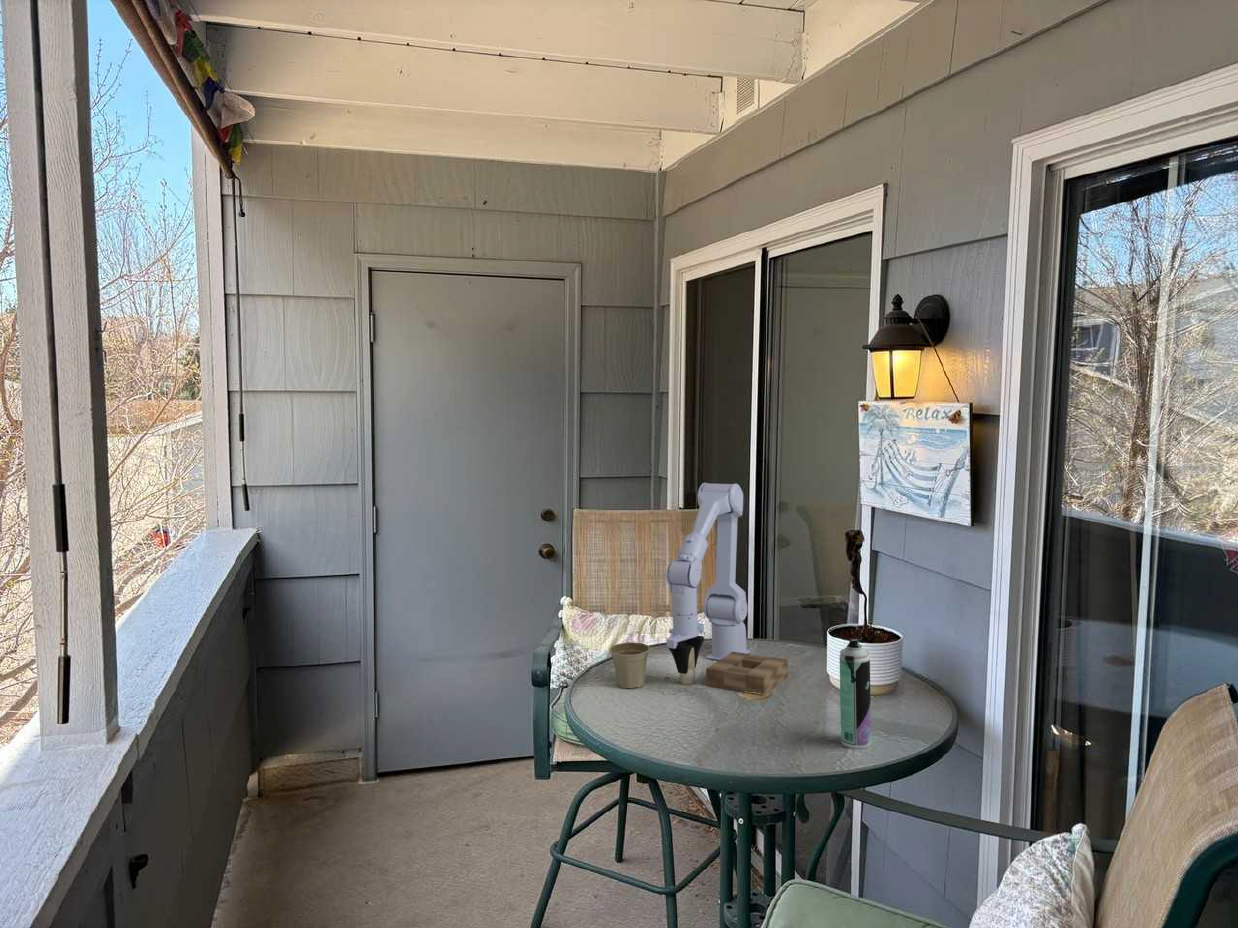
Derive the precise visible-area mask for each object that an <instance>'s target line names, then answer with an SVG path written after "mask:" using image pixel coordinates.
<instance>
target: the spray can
mask: <svg viewBox="0 0 1238 928" xmlns="http://www.w3.org/2000/svg"><path fill="white" fill-rule="evenodd" d="M839 690H840V691H839V693H840V695H839V696H840V697H839V699H840V700H839V701H840V708H839V709H840V743H841V745H842V746H844V747H846V748H848V749H852V750H865V749H868V748H870V747H871V746H872V715H871V714H872V711H871V709H872V708H871V707H872V706H871V656H870V652H869V650H868V649H865V648H864V647H863V645H861V644H860V640H859V638H851V639H850V640H849V642H848V644H847V645H846V647H845V648H842V649H841V650H840V651H839Z"/></svg>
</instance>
